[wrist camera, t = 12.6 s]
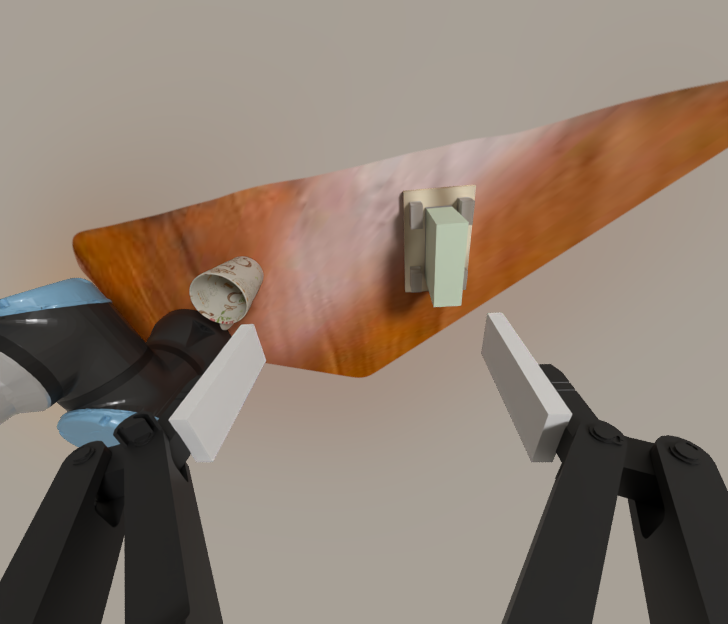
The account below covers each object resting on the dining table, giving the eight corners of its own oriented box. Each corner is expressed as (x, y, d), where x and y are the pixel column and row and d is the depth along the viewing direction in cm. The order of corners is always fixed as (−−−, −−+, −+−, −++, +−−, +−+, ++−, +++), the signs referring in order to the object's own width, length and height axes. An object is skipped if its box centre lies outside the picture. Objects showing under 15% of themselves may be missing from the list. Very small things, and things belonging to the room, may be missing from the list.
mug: (272, 257, 48) (249, 282, 40) (266, 317, 54) (244, 350, 46) (222, 243, 47) (187, 266, 39) (222, 306, 54) (191, 338, 45)
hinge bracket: (405, 289, 50) (406, 300, 46) (403, 190, 42) (404, 195, 38) (464, 286, 49) (470, 297, 45) (473, 184, 41) (482, 188, 37)
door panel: (424, 276, 47) (433, 307, 39) (425, 207, 42) (436, 224, 33) (446, 275, 47) (461, 305, 38) (450, 205, 41) (468, 222, 33)
